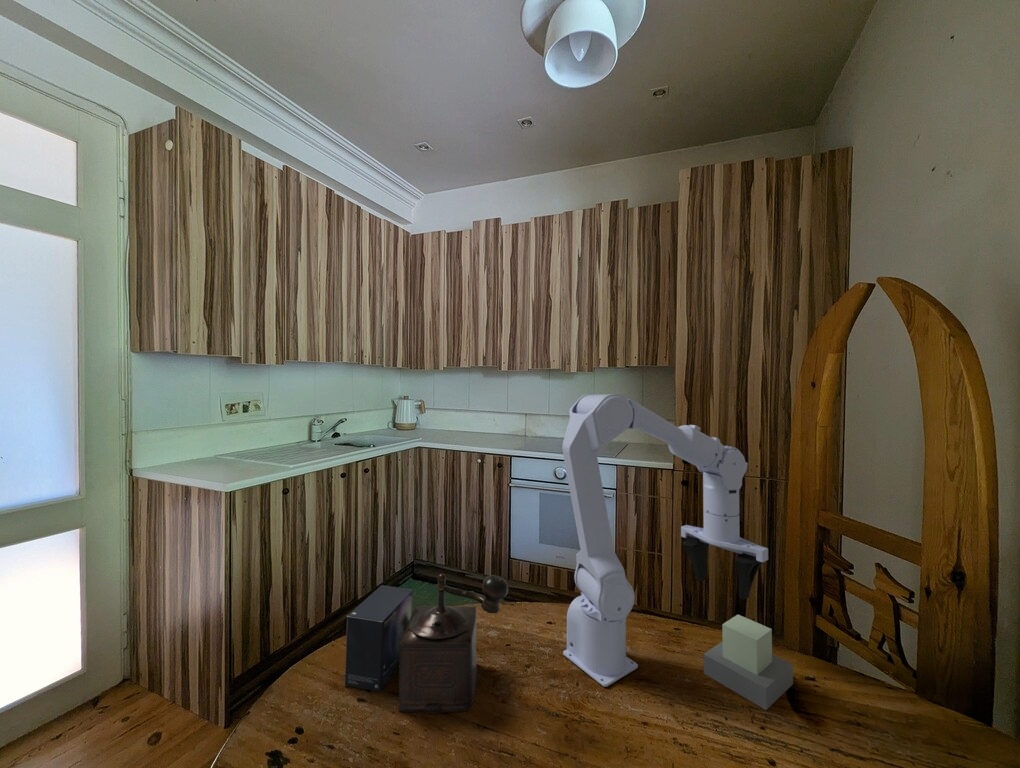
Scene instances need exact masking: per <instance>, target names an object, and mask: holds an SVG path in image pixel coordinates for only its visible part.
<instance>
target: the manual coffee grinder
mask: <svg viewBox="0 0 1020 768" xmlns="http://www.w3.org/2000/svg"><path fill="white" fill-rule="evenodd" d="M446 579H447V576H446V574H444V573H439V575H438V576H437V585H436V589H437V591H438V601H437V602H438V603H437V605H416V607H415V608H414V610H413V611H412V616H411V618H410V620H409V623H408V625H407V627H406V629H405V631H404V633H403V636H402V638H401V640H400V645H399V650H400V655H399V666H398V671H399V672H398V675H399V678H398V683H399V684H398V685H399V686H398V695H399V696H398V697H399V698H398V702H399V703H398V712H406V713H407V712H409V713H410V712H411V713H421V714H440V713H459V712H463V711H469V710H471V709H472V706H473V702H474V701H473V700H474V699H475V691H476V683H477V675H478V670H477V669H478V668H477V666H478V665H477V639H476V638H477V606H461V605H460V606H458V605H457V606H456V605H455V606H453V605H452V606H451V605H445V595H446V594H445V592H446V593H447V594H451V595H454V596H459V597H463V598H468V599H472V600H475V601H477V602H479V603H480V606H481V609H482V610H483V611H484V612H486V613H488V614H498V612H500V611H501V606H500V602H501V601H502V600H503V599H504V598H505V597H506V596H507V595H508V593H509V586H508V582H507V580H505V579H504V578H503V577H502V576H499V575H498V574H491V575H488V576H486V577H485V579H484V580H483V581H482V586H481V590H482V592H483V594H484V595H482V594H479V593H476V592H472V591H470V590H464V589H461V588H456V587H452V586H449V585H447V583H446Z"/></svg>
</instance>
